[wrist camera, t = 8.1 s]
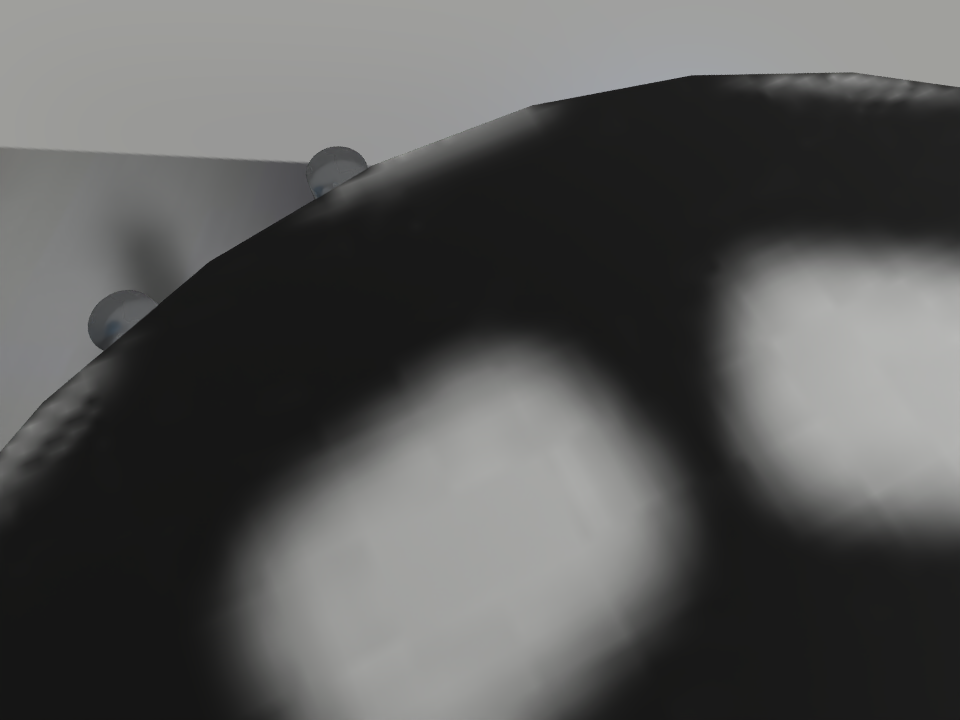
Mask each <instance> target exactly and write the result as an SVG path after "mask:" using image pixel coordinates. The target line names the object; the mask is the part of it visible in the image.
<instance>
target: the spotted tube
mask: <svg viewBox="0 0 960 720" xmlns="http://www.w3.org/2000/svg"><path fill="white" fill-rule="evenodd" d="M0 720H960V87H953V86H945V85H938V84H931V83H924V82H917V81H909V80H903V79H895V78H888V77H881V76H874V75H867V74H859V73H801V74H800V73H798V74H748V75H747V74H746V75H694V76H687V77H682V78H676V79H671V80H665V81H660V82H655V83H649V84H644V85H639V86H633V87H628V88H623V89H618V90H612V91H607V92H602V93H596V94H591V95H586V96H581V97H575V98H570V99H565V100H559V101H554V102H548V103H543V104H538V105H532V106H530V107H527V108H524V109H522V110H519V111H517V112H514V113H511V114H509V115H506V116H503V117H501V118H498V119H495V120H493V121H490V122H488V123H485V124H482V125H479V126H477V127H474V128H471V129H469V130H466V131H463V132H461V133H458V134H455V135H453V136H450V137H447V138H445V139H442V140H439V141H437V142H434V143H432V144H429V145H426V146H423V147H421V148H418V149H415V150H413V151H410V152H408V153H405V154H402V155H400V156H397V157H394V158H392V159H389V160H386V161H384V162H381V163H378V164H375V165H373V166H371V167H369V168H367V169H366V170H364V171H362V172H361V173H359V174H357V175H356V176H354V177H352V178H351V179H349V180H347V181H345V182H344V183H342V184H340V185H339V186H337V187H335V188H334V189H332V190H330V191H329V192H327V193H325V194H323V195H322V196H320V197H318V198H317V199H315V200H313V201H312V202H310V203H308V204H307V205H305V206H303V207H301V208H300V209H298V210H296V211H295V212H293V213H291V214H290V215H288V216H286V217H284V218H283V219H281V220H279V221H278V222H276V223H274V224H273V225H271V226H269V227H268V228H266V229H264V230H262V231H261V232H259V233H257V234H256V235H254V236H252V237H251V238H249V239H247V240H246V241H244V242H242V243H240V244H239V245H237V246H235V247H234V248H232V249H230V250H229V251H227V252H225V253H224V254H222V255H220V256H218V257H217V258H215V259H213V260H212V261H210V262H209V263H207V264H206V265H205V266H204V267H203V268H201V269H200V270H199V271H198V272H197V273H196V274H194V275H193V276H192V277H191V278H190V279H188V280H187V281H186V282H185V283H184V284H183V285H181V286H180V287H179V288H178V289H177V290H175V291H174V292H173V293H172V294H171V295H170V296H168V297H167V298H166V299H165V300H164V301H162V302H161V303H160V304H159V305H158V306H157V307H155V308H154V309H153V310H152V311H151V312H149V313H148V314H147V315H146V316H145V317H144V318H142V319H141V320H140V321H139V322H138V323H136V324H135V325H134V326H133V327H132V328H131V329H129V330H128V331H127V332H126V333H125V334H123V335H122V336H121V337H120V338H119V339H117V340H116V341H115V342H114V343H113V344H112V345H110V346H109V347H108V348H107V349H106V350H104V351H103V352H102V353H101V354H100V355H99V356H97V357H96V358H95V359H94V360H93V361H91V362H90V363H89V364H88V365H87V366H86V367H84V368H83V369H82V370H81V371H80V372H78V373H77V374H76V375H75V376H74V377H73V378H71V379H70V380H69V381H68V382H67V383H65V384H64V385H63V386H62V387H61V388H60V389H58V390H57V391H56V392H55V393H54V394H52V395H51V396H50V397H49V398H48V399H47V400H45V401H44V402H43V403H42V404H41V405H40V406H39V408H38V409H37V410H36V411H35V412H34V413H33V415H32V416H31V417H30V418H29V419H28V420H27V422H26V423H25V424H24V425H23V426H22V427H21V429H20V430H19V431H18V432H17V433H16V434H15V436H14V437H13V438H12V439H11V440H10V441H9V442H8V444H7V445H6V446H5V447H4V448H3V449H2V451H1V452H0Z"/></svg>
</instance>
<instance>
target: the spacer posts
mask: <svg viewBox="0 0 960 720" xmlns="http://www.w3.org/2000/svg"><path fill="white" fill-rule="evenodd" d="M366 169H367V164H366V162H365V160H364V158H363V157H362V156H361V155H360V154H359V153H358V152H356V151H354V150H352V149H350V148H346V147H330V148H326V149H324V150H322V151H320V152H319V153H317V154H316V155H315V156H314V157H313V158H312V159H311V160H310V162H309V164H308V167H307V171H306V176H307V181H308V183H309V186H310V188H311V191H312V193H313V196H314V198H315V199H317V198H318V197H320V196H322V195H323V194H325V193H327V192H329V191H330V190H332V189H334V188H335V187H337V186H339V185H340V184H342V183H344V182H345V181H347V180H349V179H351V178H352V177H354V176H356V175H357V174H359V173H361V172H362V171H364V170H366ZM158 305H159V304H157V303H156V302H155V301H153V300H152V299H151V298H150V297H148V296H147V295H145V294H143V293H141V292H138V291H133V290H125V291H119V292H116V293H113V294H111V295H109V296H107V297H105V298H104V299H103V300H101V301H100V302H99V303H98V304H97V305H96V307H95V308H94V309H93V311H92V313H91V315H90V318H89V322H88V332H89V335H90V338H91V340H92V341H93V343H94V344H95V345H96V346H97V347H99V348H100V349H102V350H103V351H104V350H106V349H107V348H108V347H109V346H110V345H112V344H113V343H114V342H115V341H116V340H117V339H119V338H120V337H121V336H122V335H123V334H125V333H126V332H127V331H128V330H129V329H131V328H132V327H133V326H134V325H135V324H136V323H138V322H139V321H140V320H141V319H142V318H144V317H145V316H146V315H147V314H148V313H149V312H151V311H152V310H153V309H154V308H155V307H157V306H158Z"/></svg>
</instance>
